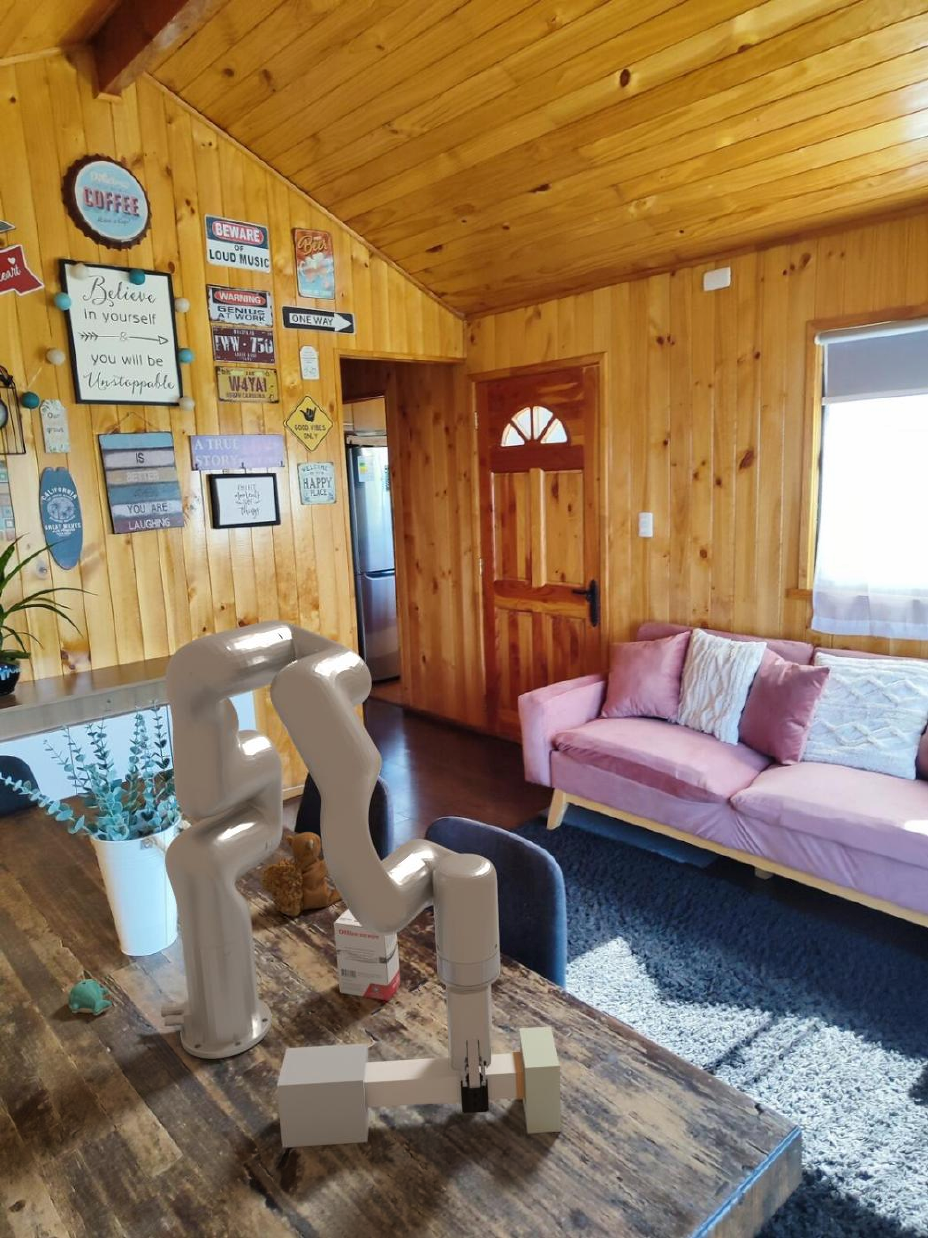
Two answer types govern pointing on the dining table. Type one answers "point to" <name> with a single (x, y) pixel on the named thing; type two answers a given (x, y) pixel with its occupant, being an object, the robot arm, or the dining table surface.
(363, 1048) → the grey block
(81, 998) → the whale figurine
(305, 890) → the stuffed squirrel
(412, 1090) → the orange-striped white bar
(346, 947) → the ink box
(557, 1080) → the socket
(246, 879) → the dining table surface
